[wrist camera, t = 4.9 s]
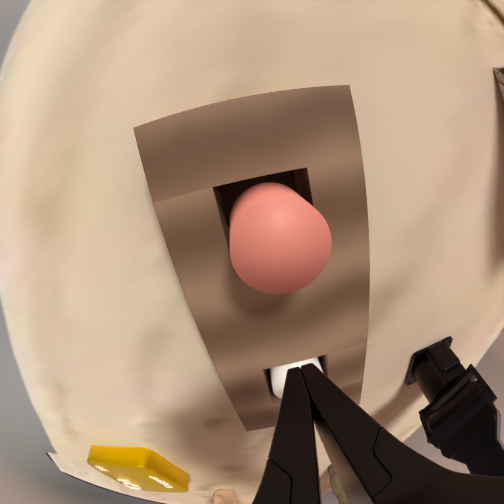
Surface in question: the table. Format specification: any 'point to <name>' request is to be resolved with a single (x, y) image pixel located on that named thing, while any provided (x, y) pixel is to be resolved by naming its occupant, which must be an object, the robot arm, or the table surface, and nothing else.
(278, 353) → the pin block
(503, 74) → the coffee box
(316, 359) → the pin
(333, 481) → the thermos
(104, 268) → the table surface
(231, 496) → the cup with straw
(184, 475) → the element tile
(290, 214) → the pink rounded block
